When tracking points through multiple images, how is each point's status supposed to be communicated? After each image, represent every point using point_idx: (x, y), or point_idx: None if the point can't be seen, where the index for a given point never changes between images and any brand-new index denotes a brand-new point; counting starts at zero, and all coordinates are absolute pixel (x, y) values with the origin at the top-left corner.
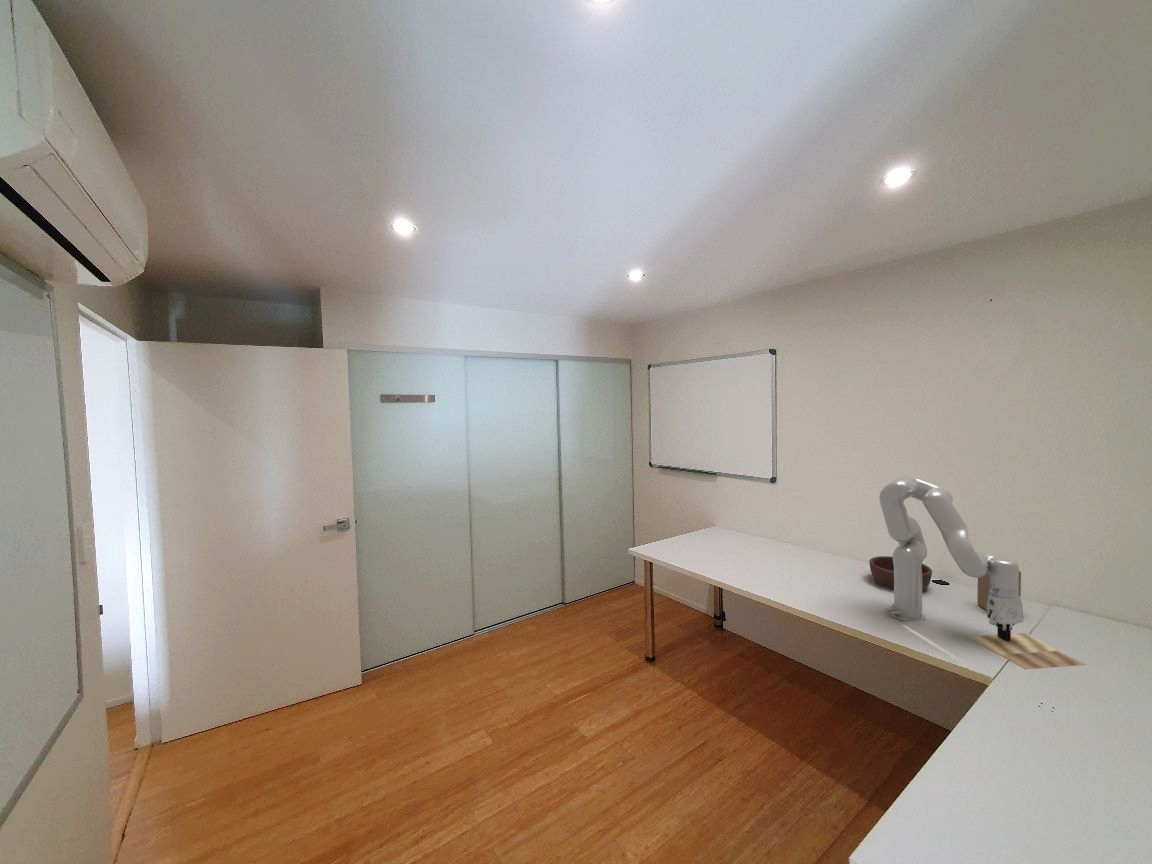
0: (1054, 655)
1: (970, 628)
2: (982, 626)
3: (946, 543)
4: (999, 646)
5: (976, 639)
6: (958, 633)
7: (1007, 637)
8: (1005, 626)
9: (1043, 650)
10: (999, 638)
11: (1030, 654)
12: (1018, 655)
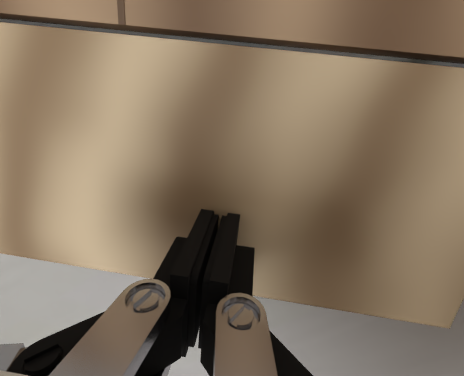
0: None
1: None
2: None
3: None
4: (382, 177)
5: (457, 295)
6: (355, 362)
7: (229, 229)
8: (224, 353)
9: (49, 39)
10: None
11: (237, 6)
12: (384, 15)
